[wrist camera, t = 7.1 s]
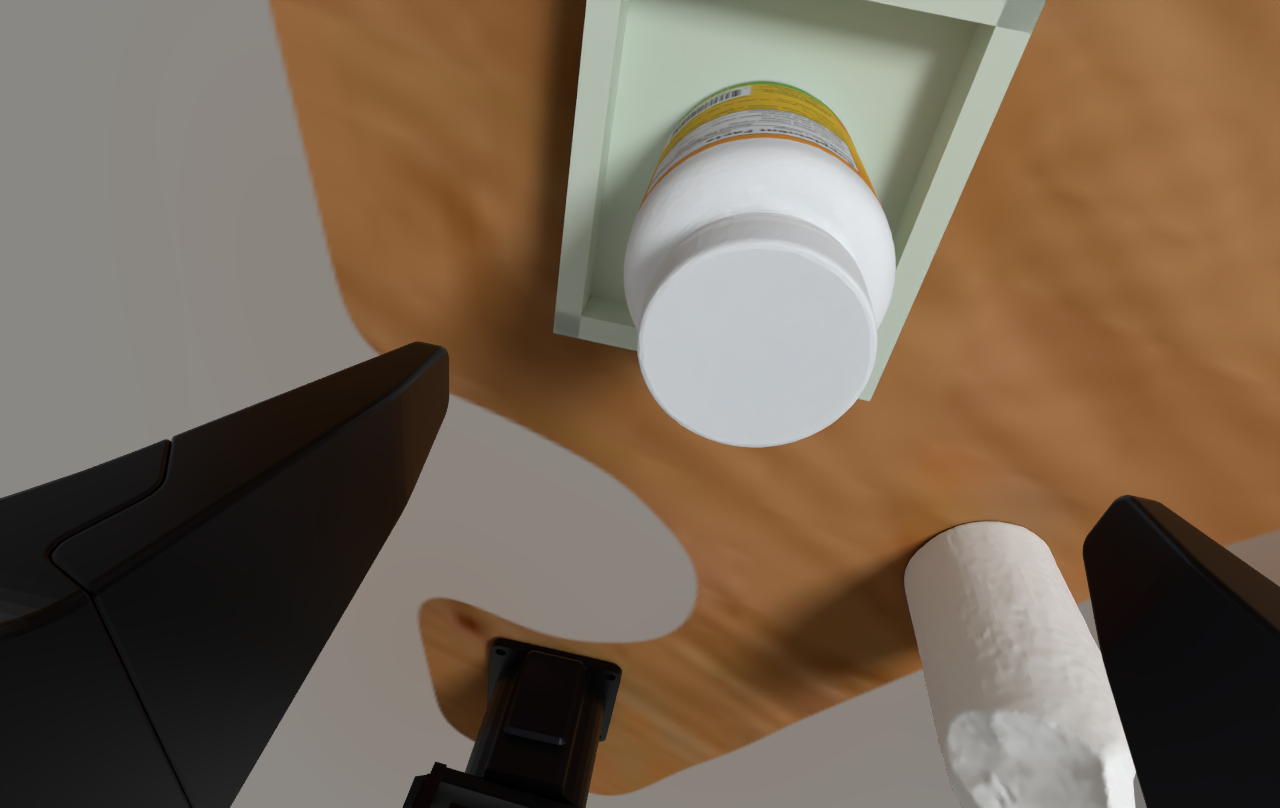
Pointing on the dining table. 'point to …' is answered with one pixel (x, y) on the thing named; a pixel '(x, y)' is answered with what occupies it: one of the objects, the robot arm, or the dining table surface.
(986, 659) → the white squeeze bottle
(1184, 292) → the dining table surface
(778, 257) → the supplement bottle
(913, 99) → the tray
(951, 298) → the dining table surface
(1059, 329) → the dining table surface
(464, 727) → the dining table surface
